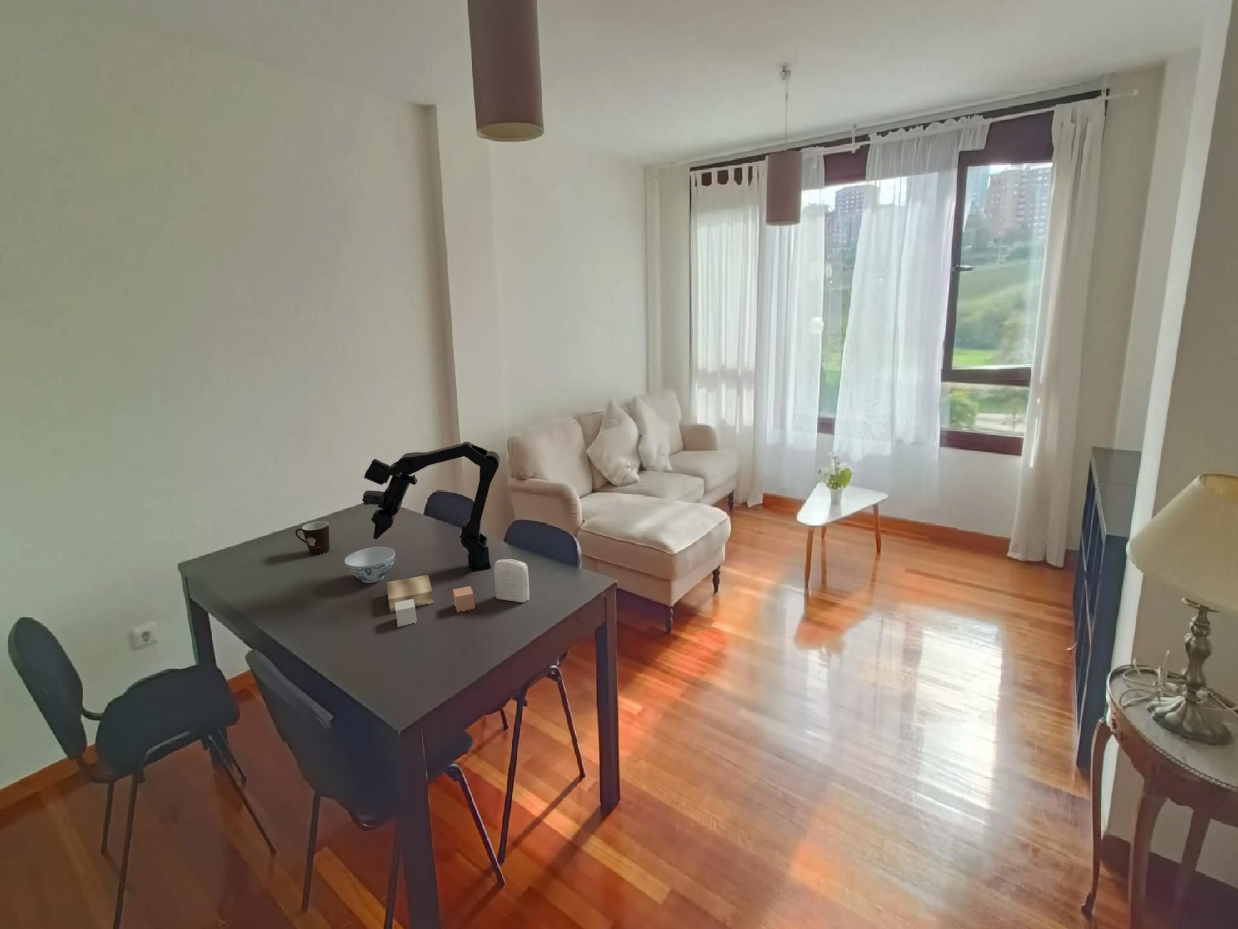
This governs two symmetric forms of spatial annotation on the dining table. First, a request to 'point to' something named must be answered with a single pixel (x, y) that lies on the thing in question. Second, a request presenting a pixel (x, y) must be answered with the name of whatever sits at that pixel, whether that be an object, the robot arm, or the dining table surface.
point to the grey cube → (405, 612)
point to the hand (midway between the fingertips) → (377, 533)
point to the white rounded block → (511, 580)
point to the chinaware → (370, 563)
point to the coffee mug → (316, 537)
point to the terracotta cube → (463, 598)
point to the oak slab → (410, 591)
